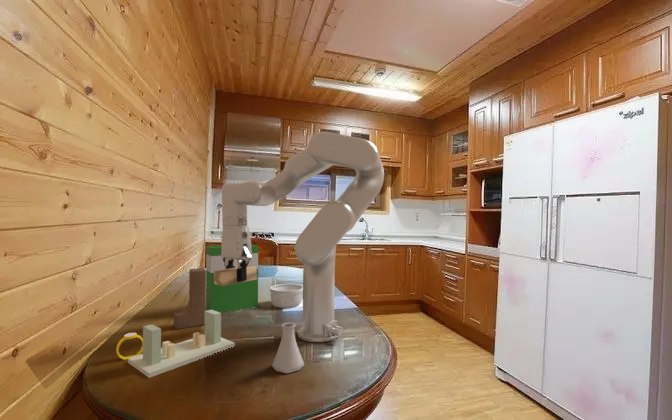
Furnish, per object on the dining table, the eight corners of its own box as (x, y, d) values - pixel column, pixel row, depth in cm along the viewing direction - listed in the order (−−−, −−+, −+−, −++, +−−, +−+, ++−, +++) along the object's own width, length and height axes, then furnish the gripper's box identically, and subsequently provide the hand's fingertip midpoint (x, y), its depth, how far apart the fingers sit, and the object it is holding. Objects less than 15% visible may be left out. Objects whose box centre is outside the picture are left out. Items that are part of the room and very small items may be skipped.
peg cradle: (234, 346, 90) (234, 313, 90) (149, 377, 73) (149, 337, 73) (210, 336, 98) (210, 305, 98) (127, 362, 80) (128, 325, 81)
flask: (289, 357, 84) (289, 317, 84) (309, 365, 79) (309, 324, 79) (266, 367, 78) (266, 325, 78) (287, 377, 74) (287, 332, 74)
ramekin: (309, 303, 135) (309, 286, 135) (288, 311, 123) (288, 292, 123) (284, 298, 142) (284, 282, 142) (262, 305, 130) (262, 288, 131)
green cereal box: (251, 302, 135) (251, 243, 135) (257, 307, 129) (258, 245, 129) (205, 309, 125) (206, 246, 125) (210, 314, 119) (211, 247, 119)
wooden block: (175, 330, 103) (175, 272, 103) (173, 325, 107) (174, 270, 107) (205, 325, 108) (206, 269, 108) (203, 321, 111) (203, 267, 112)
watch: (117, 363, 81) (115, 339, 80) (116, 360, 83) (114, 336, 82) (145, 355, 84) (144, 332, 84) (144, 352, 86) (142, 329, 86)
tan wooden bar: (256, 279, 107) (256, 267, 107) (222, 286, 98) (222, 272, 98) (248, 277, 110) (247, 265, 110) (214, 284, 101) (213, 271, 101)
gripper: (261, 221, 102) (263, 280, 102) (229, 222, 113) (230, 275, 112) (241, 222, 96) (242, 285, 96) (209, 223, 107) (210, 279, 106)
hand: (236, 279), depth 104 cm, fingers closed on tan wooden bar, 5 cm apart
